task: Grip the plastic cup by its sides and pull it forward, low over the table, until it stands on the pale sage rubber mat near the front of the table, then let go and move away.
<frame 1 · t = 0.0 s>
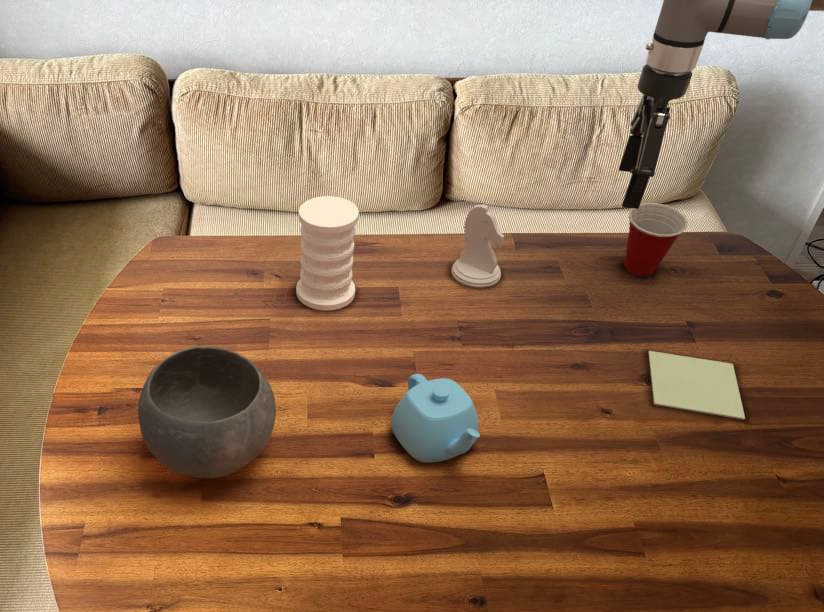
hand: (628, 188, 138), 21 cm above the table, tool pointing down, fingers open, 13 cm apart
mat: (693, 384, 132), on the table
bowl: (211, 453, 121), on the table
chess piece: (475, 274, 156), on the table
teapot: (435, 444, 122), on the table
decorative container: (325, 293, 152), on the table
plastic cup: (638, 269, 157), on the table
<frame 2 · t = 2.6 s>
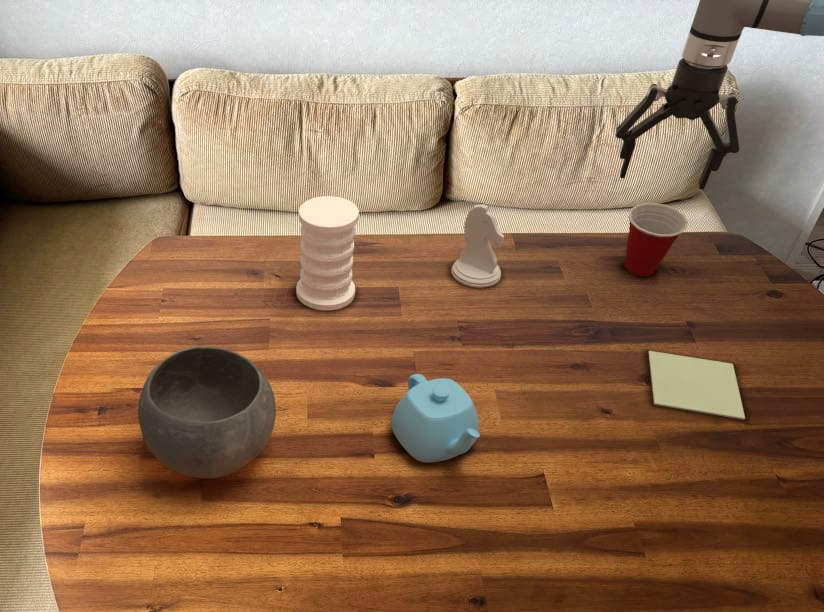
hand: (661, 180, 141), 20 cm above the table, tool pointing down, fingers open, 13 cm apart
nothing on the table moved.
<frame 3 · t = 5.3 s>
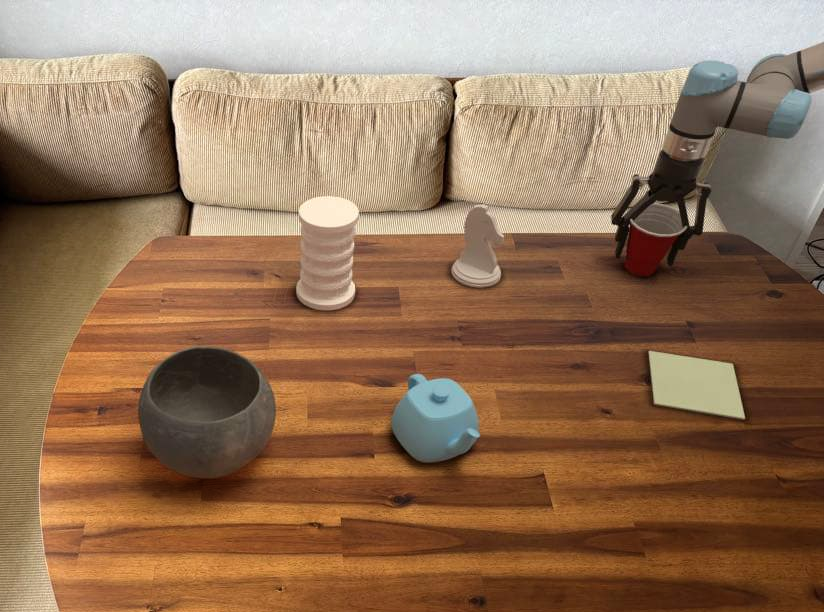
hand: (643, 258, 155), 3 cm above the table, tool pointing down, fingers closed on plastic cup, 9 cm apart
plastic cup: (638, 269, 157), on the table, touching gripper
everything else where it was.
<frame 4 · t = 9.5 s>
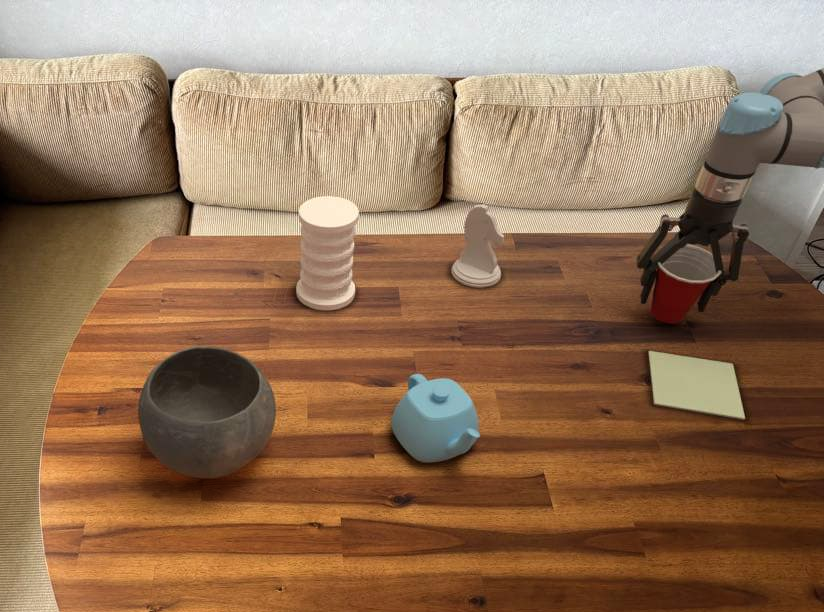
hand: (671, 303, 142), 4 cm above the table, tool pointing down, fingers closed on plastic cup, 9 cm apart
plastic cup: (666, 315, 144), point 1 cm above the table, touching gripper
everything else where it was.
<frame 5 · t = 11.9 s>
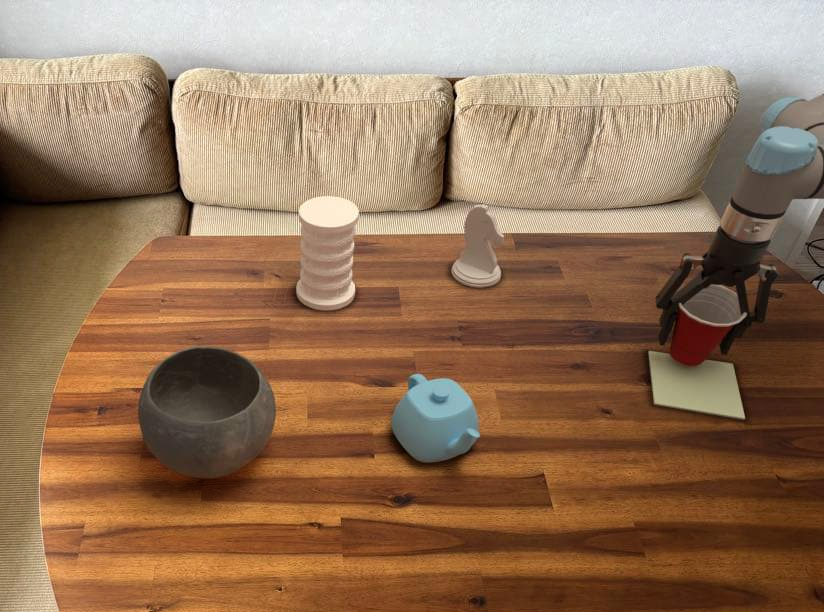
hand: (691, 345, 133), 4 cm above the table, tool pointing down, fingers closed on plastic cup, 9 cm apart
plastic cup: (686, 357, 135), point 1 cm above the table, touching gripper
everything else where it was.
when the fingers open (3 cm above the table, at t = 13.9 s): plastic cup stays where it is, resting on mat.
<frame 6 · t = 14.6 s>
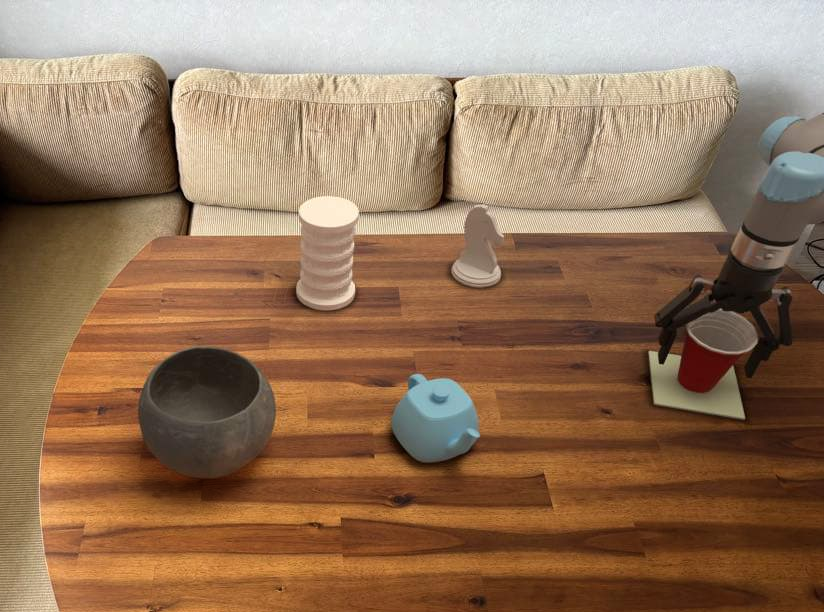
hand: (703, 366, 129), 4 cm above the table, tool pointing down, fingers open, 13 cm apart
plastic cup: (694, 383, 132), resting on mat
everything else where it was.
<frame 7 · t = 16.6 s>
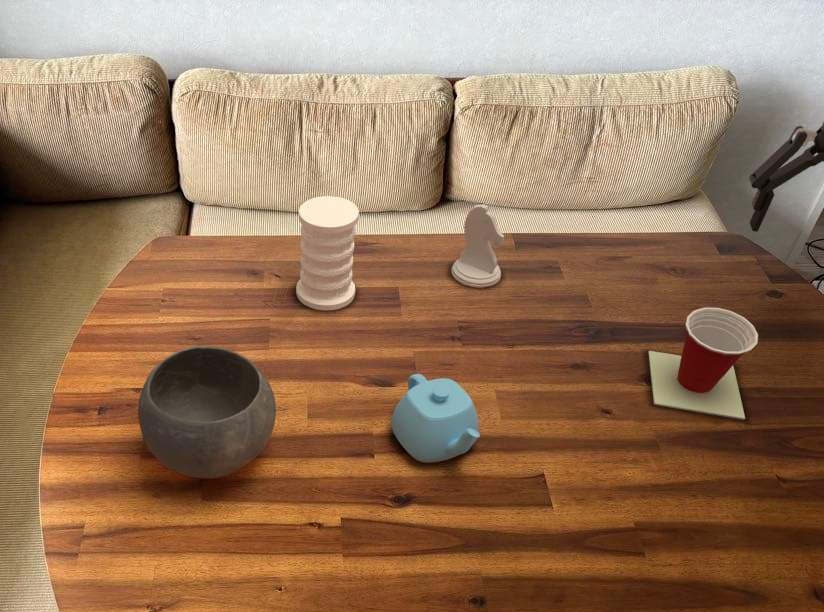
hand: (799, 231, 123), 23 cm above the table, tool pointing down, fingers open, 13 cm apart
nothing on the table moved.
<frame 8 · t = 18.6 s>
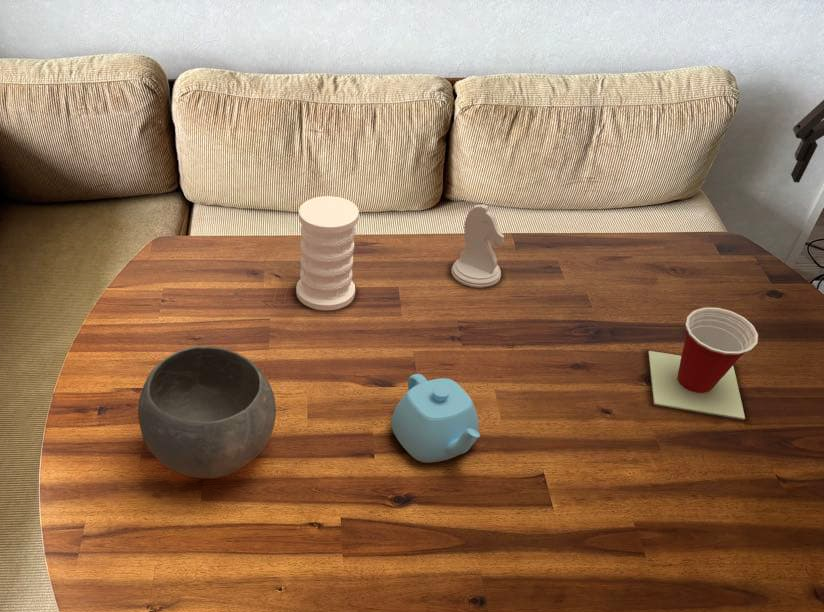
nothing on the table moved.
at the end: plastic cup inside the target area on the mat (0.0 cm from its centre), point 0.2 cm above the mat's base; plastic cup tilted 0°; plastic cup moved 34.7 cm from its start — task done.
